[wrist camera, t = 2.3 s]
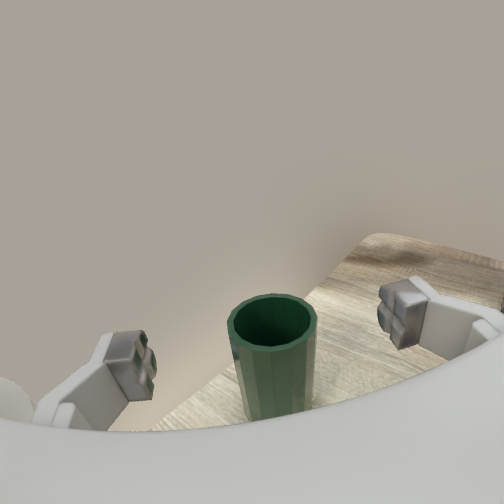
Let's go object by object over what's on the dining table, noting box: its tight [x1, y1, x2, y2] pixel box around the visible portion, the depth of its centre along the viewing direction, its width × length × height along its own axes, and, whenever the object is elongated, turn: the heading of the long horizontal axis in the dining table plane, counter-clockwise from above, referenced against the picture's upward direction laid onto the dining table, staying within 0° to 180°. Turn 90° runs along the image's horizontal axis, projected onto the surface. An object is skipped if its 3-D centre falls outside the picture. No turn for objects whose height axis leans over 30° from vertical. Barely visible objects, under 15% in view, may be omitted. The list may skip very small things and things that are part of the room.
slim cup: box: [227, 293, 317, 422], centre depth 25 cm, size 7×7×12 cm
